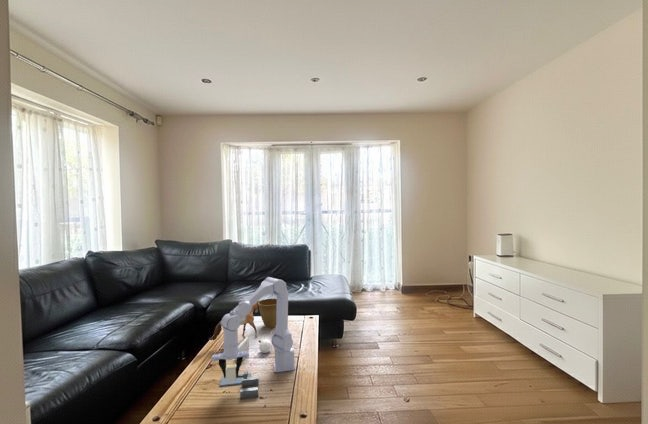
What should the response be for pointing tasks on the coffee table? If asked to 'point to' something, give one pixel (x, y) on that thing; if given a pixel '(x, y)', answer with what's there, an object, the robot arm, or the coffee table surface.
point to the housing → (249, 391)
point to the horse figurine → (245, 320)
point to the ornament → (265, 346)
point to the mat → (238, 381)
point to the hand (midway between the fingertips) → (231, 376)
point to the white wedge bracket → (244, 346)
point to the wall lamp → (233, 373)
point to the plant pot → (268, 311)
